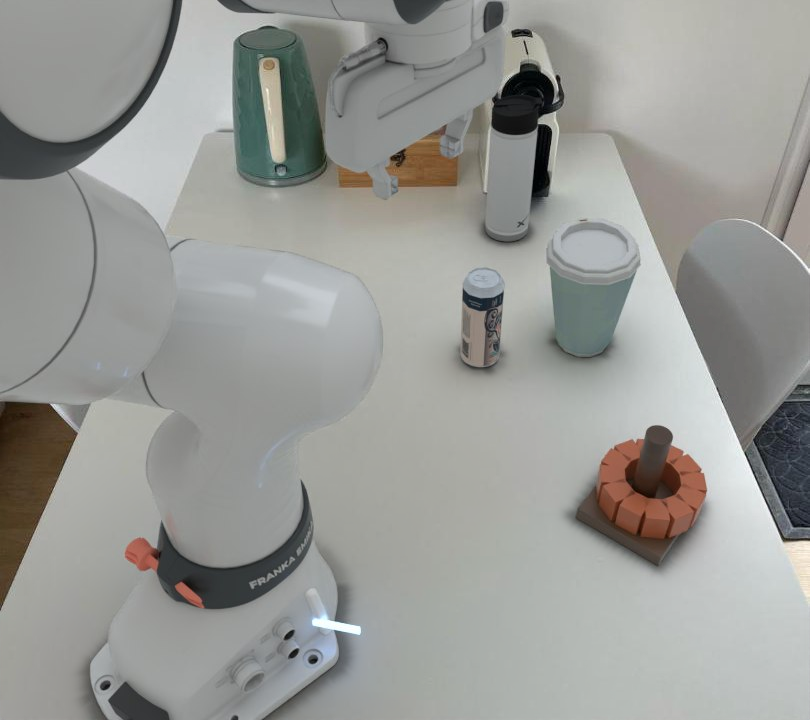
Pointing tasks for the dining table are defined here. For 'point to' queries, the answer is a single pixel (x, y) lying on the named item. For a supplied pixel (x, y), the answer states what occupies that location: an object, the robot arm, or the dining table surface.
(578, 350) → the disposable coffee cup
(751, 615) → the dining table surface
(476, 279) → the beer can
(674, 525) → the ring
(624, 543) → the stand
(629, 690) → the dining table surface
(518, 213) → the white water bottle
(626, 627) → the dining table surface
